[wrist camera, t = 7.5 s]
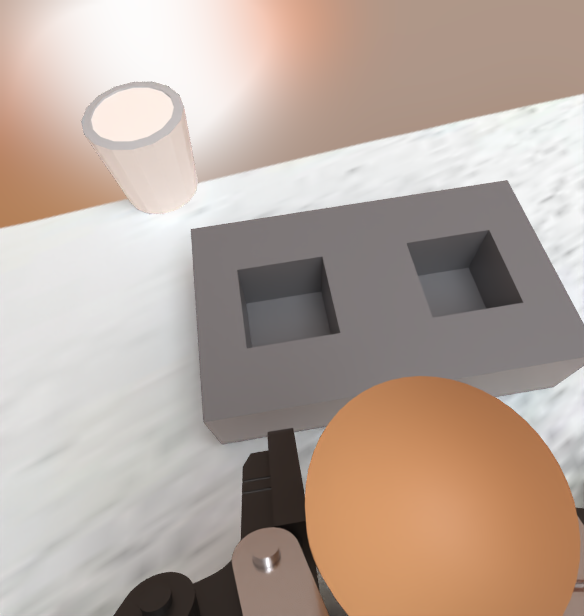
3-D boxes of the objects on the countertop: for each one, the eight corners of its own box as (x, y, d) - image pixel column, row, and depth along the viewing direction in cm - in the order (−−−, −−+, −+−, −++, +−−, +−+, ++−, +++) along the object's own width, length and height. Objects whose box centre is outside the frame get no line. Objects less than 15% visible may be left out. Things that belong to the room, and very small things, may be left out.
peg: (314, 597, 15) (330, 696, 5) (300, 491, 17) (288, 393, 6) (412, 581, 16) (633, 644, 5) (389, 478, 17) (518, 361, 7)
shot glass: (139, 234, 34) (100, 164, 28) (107, 178, 37) (66, 103, 31) (220, 196, 36) (200, 121, 29) (183, 145, 38) (158, 67, 32)
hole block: (222, 444, 26) (203, 422, 22) (207, 273, 32) (190, 229, 28) (553, 387, 27) (600, 354, 23) (481, 230, 33) (507, 180, 28)
